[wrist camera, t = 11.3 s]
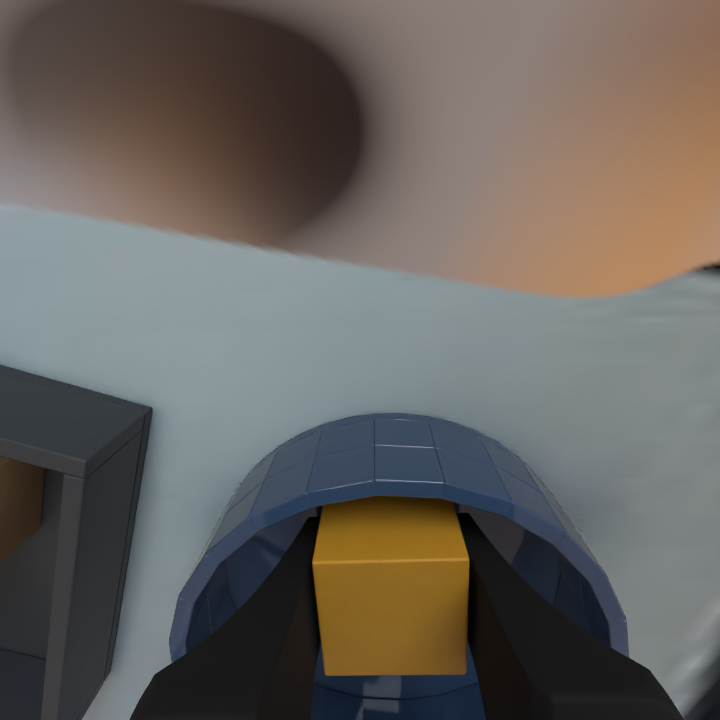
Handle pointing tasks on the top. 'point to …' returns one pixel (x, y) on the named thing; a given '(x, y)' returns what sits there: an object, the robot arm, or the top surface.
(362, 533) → the mustard block
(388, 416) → the bowl
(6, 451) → the bin
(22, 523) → the beech block
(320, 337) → the top surface
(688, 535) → the top surface
